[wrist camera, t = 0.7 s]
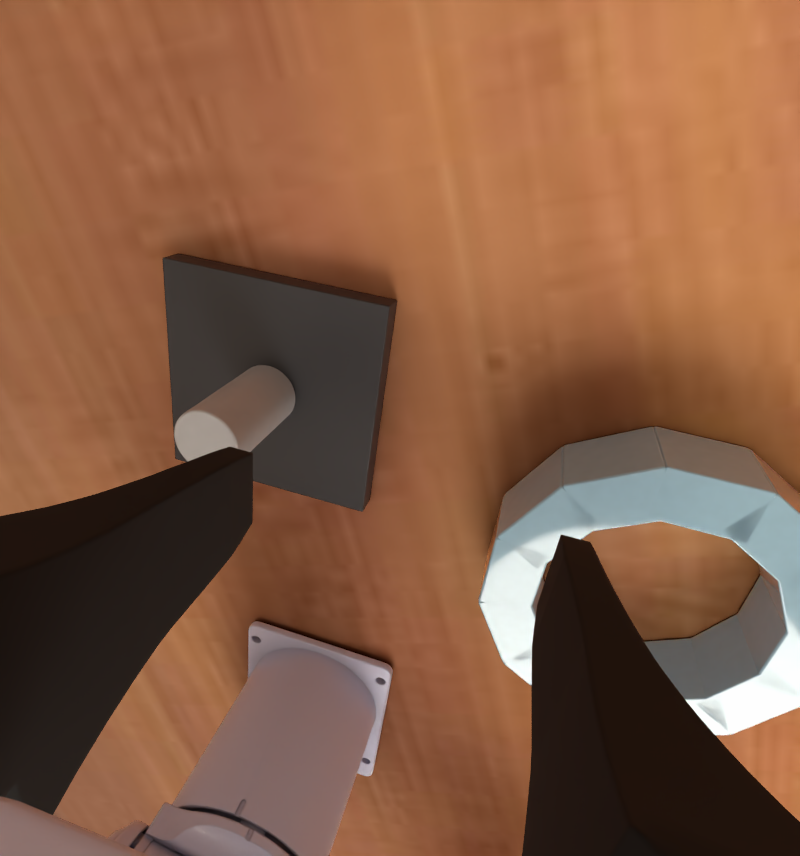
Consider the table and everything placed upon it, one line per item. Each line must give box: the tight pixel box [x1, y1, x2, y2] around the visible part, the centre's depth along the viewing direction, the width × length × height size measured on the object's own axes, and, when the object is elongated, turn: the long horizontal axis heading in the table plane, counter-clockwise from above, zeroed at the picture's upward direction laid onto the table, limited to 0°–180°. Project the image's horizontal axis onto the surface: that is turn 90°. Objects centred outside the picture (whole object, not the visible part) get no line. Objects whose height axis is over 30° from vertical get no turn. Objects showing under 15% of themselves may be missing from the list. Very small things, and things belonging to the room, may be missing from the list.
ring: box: [478, 426, 800, 735], centre depth 21 cm, size 12×12×3 cm
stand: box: [163, 254, 397, 511], centre depth 21 cm, size 9×9×6 cm
